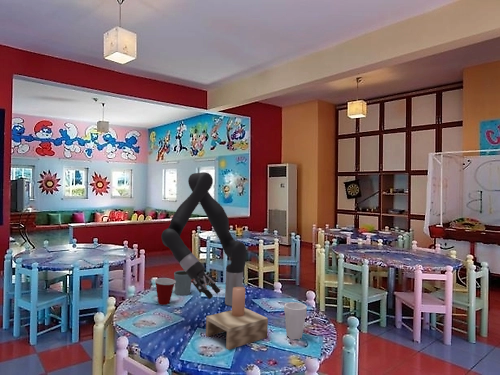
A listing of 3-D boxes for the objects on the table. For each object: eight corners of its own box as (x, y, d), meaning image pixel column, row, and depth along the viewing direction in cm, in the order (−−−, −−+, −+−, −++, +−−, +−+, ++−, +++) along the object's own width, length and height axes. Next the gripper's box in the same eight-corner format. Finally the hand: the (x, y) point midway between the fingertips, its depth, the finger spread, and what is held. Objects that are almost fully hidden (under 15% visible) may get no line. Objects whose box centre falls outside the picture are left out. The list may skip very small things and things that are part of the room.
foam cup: (291, 343, 144) (292, 310, 144) (278, 334, 153) (280, 303, 153) (310, 339, 149) (311, 308, 149) (297, 330, 157) (298, 301, 157)
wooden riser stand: (243, 325, 161) (244, 307, 161) (267, 337, 149) (267, 318, 149) (205, 335, 149) (206, 316, 149) (228, 349, 136) (229, 328, 136)
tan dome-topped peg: (239, 311, 156) (240, 285, 156) (247, 314, 152) (248, 289, 152) (229, 313, 153) (230, 287, 152) (236, 317, 148) (237, 291, 148)
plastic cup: (169, 307, 180) (170, 283, 180) (149, 305, 182) (150, 281, 182) (178, 301, 191) (179, 278, 191) (159, 299, 193) (160, 276, 193)
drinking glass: (194, 292, 208) (195, 271, 208) (185, 297, 198) (186, 275, 198) (179, 290, 211) (179, 269, 211) (169, 294, 201) (170, 273, 201)
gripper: (190, 263, 151) (215, 294, 148) (204, 257, 165) (226, 285, 161) (178, 275, 152) (202, 305, 149) (193, 268, 166) (215, 295, 163)
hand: (215, 295), depth 155 cm, fingers open, 8 cm apart
